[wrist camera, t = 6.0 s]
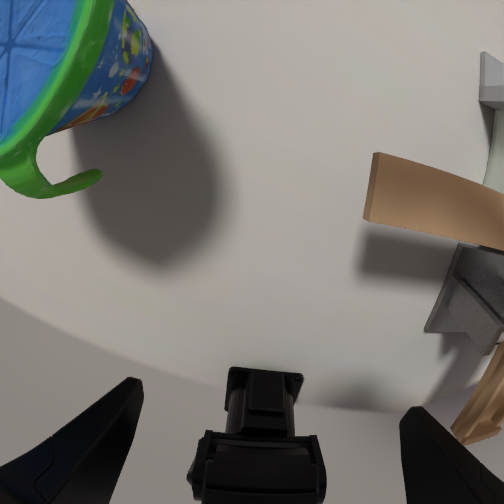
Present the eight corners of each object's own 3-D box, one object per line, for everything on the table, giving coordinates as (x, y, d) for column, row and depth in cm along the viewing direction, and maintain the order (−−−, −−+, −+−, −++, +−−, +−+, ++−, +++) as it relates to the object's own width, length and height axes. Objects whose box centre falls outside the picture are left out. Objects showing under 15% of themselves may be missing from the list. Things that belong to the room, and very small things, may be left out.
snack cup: (60, -4, 12) (-27, -33, 3) (186, -40, 12) (133, -123, 2) (52, 179, 18) (-48, 225, 9) (178, 171, 18) (94, 221, 9)
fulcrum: (492, 328, 22) (526, 372, 16) (424, 327, 22) (457, 385, 16) (524, 258, 19) (569, 295, 12) (458, 243, 19) (512, 288, 12)
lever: (488, 414, 18) (501, 433, 15) (296, 436, 17) (299, 468, 15) (566, 227, 12) (589, 236, 10) (369, 153, 12) (395, 151, 10)
